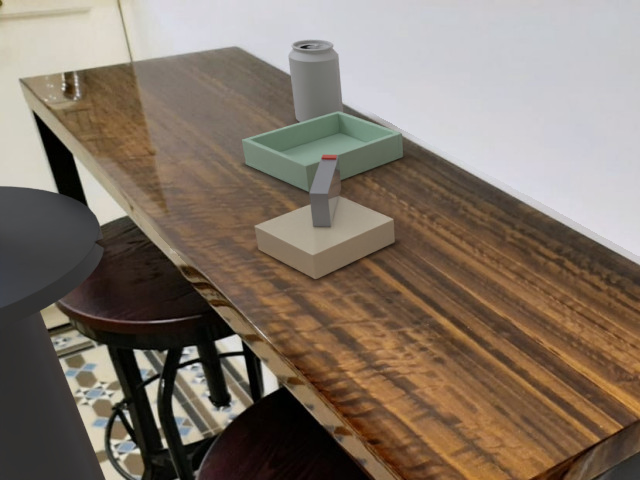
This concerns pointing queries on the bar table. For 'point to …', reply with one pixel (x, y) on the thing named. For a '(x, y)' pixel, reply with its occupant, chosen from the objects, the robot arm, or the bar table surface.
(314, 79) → the can
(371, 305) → the bar table surface
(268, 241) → the block
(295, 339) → the bar table surface
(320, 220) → the slate gray plank
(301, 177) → the green tray
